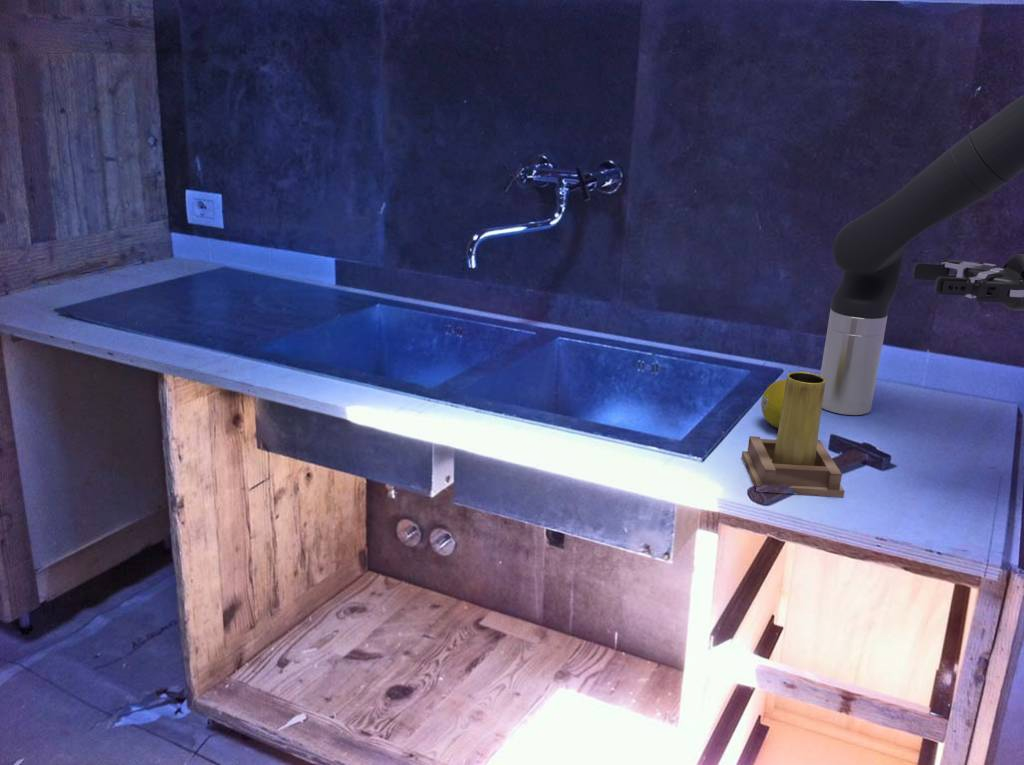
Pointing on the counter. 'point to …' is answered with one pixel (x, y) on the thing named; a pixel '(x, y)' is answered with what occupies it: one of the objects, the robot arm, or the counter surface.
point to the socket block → (792, 470)
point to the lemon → (773, 402)
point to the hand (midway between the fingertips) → (924, 277)
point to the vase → (799, 419)
